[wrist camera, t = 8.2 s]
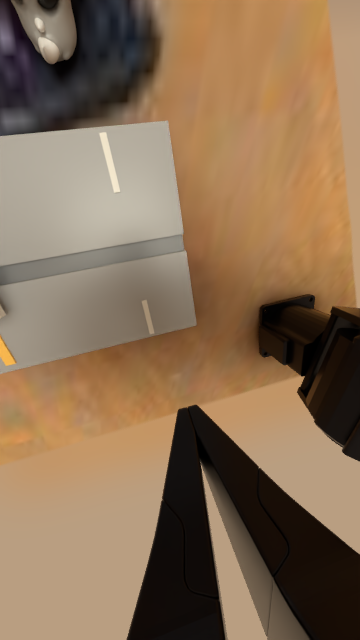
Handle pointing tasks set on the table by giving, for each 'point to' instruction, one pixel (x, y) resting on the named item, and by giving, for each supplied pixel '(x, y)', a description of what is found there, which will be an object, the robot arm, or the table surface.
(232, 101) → the table surface
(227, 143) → the table surface
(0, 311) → the fader cap
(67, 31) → the chubby cartoon animal
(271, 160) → the table surface
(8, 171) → the console board
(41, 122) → the table surface
